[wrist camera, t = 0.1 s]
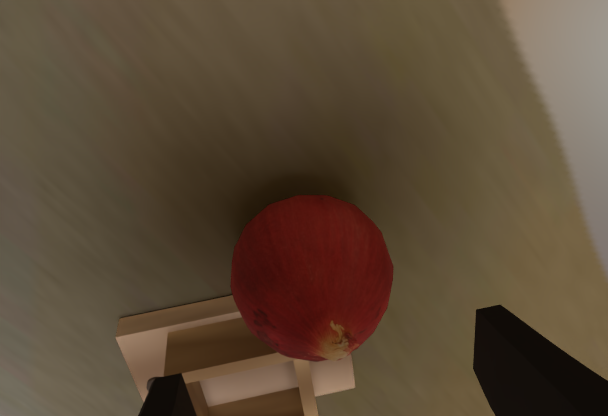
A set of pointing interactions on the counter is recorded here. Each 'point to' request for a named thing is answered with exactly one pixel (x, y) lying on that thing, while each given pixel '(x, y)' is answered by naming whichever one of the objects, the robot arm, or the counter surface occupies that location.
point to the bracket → (225, 362)
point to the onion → (311, 277)
